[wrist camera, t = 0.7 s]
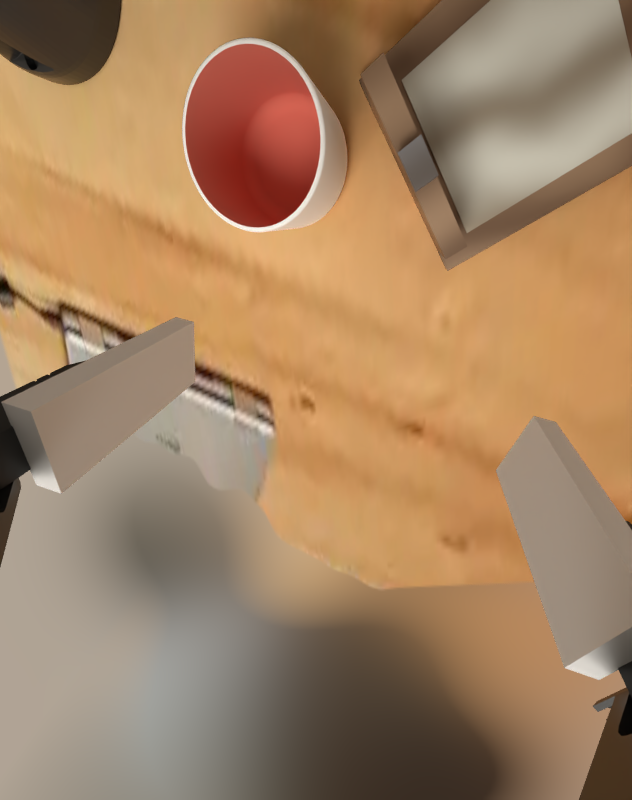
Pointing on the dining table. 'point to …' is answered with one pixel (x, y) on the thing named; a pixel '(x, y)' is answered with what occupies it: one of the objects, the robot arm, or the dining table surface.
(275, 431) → the dining table surface
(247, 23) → the dining table surface
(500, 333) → the dining table surface
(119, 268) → the dining table surface
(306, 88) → the cup
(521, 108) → the holder
